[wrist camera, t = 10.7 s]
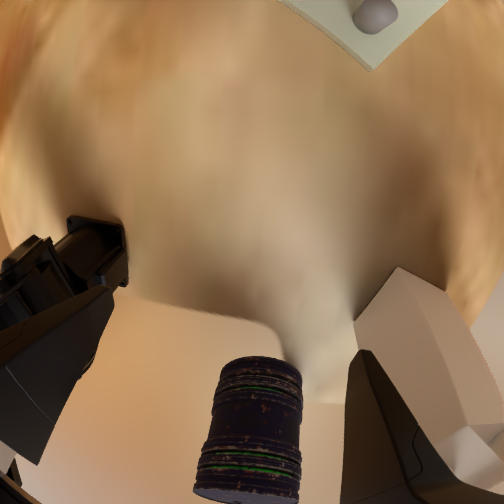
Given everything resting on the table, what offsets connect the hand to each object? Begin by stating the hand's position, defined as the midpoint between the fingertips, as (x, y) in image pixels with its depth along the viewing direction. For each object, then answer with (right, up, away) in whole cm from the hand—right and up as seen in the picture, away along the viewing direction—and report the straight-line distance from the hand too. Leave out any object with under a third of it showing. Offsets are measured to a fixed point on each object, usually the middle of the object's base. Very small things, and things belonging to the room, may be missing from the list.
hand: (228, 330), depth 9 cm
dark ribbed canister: (+2, -12, +22) cm, 25 cm away
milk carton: (+15, -2, +15) cm, 21 cm away
